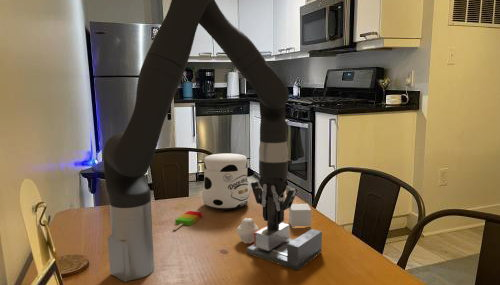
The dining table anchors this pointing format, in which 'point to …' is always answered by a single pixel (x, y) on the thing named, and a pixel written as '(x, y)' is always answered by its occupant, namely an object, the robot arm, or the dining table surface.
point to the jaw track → (292, 250)
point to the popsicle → (187, 219)
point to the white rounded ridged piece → (247, 230)
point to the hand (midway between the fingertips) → (273, 221)
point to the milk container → (225, 181)
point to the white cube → (300, 215)
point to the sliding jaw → (271, 229)
